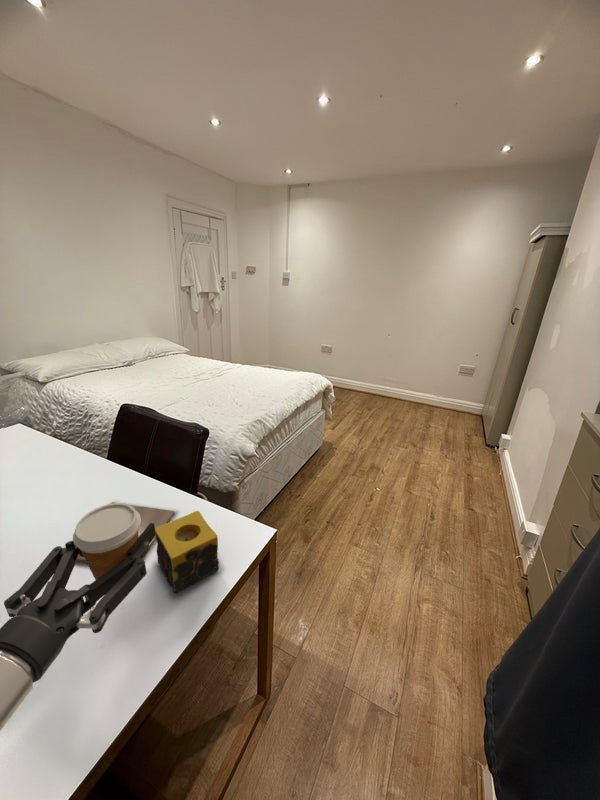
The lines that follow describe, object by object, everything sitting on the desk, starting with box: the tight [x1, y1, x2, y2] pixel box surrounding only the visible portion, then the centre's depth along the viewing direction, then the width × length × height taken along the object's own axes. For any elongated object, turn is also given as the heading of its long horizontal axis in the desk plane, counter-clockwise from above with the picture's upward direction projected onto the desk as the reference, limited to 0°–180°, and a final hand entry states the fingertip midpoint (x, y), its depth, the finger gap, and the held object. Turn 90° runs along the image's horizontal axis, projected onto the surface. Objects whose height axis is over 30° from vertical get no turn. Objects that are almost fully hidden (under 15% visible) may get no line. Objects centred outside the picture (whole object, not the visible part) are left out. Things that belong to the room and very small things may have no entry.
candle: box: [155, 510, 220, 595], centre depth 69 cm, size 10×10×10 cm
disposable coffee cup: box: [72, 502, 141, 581], centre depth 54 cm, size 10×10×12 cm
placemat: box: [72, 502, 176, 564], centre depth 78 cm, size 18×18×1 cm
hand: (130, 525), depth 58 cm, fingers closed on disposable coffee cup, 8 cm apart
